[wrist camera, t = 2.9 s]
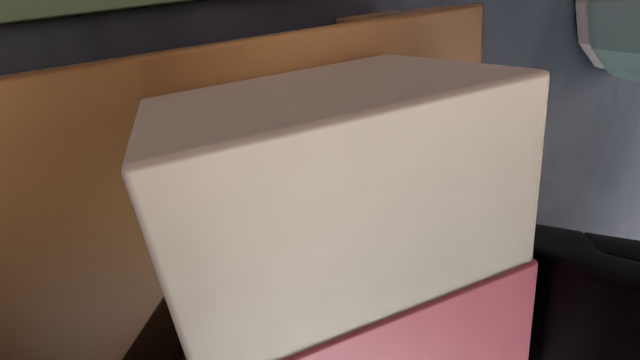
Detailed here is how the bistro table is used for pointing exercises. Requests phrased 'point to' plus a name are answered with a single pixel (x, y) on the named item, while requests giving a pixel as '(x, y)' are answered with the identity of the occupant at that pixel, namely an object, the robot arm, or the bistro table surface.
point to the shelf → (106, 163)
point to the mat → (66, 8)
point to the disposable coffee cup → (611, 35)
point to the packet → (346, 210)
